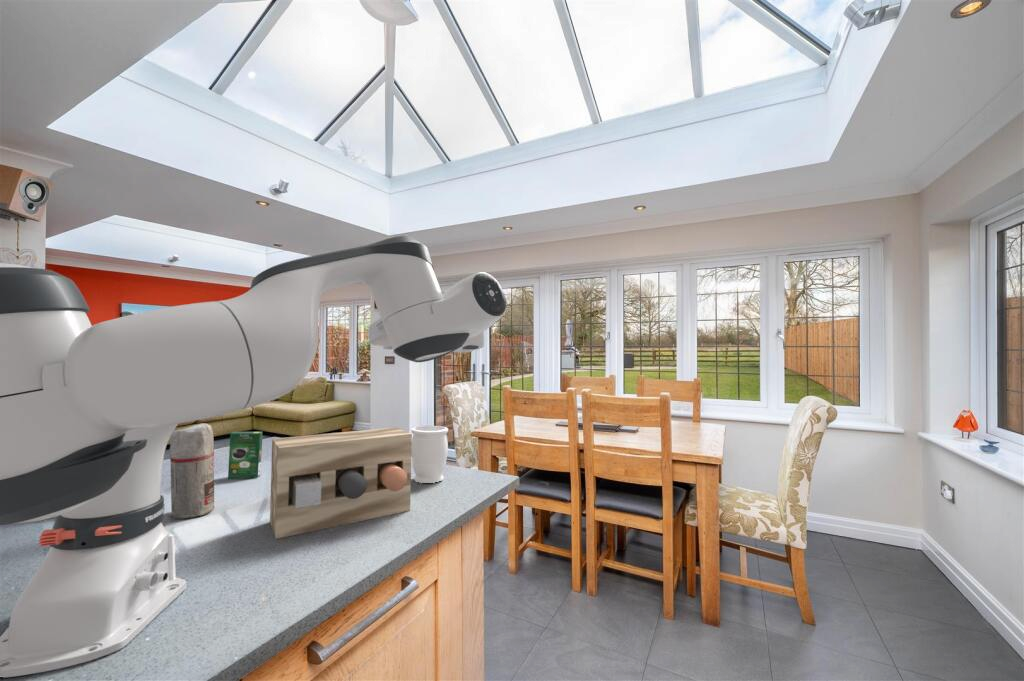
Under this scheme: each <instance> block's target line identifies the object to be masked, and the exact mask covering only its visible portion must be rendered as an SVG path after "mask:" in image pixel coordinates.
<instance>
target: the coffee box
mask: <svg viewBox="0 0 1024 681" xmlns="http://www.w3.org/2000/svg"><path fill="white" fill-rule="evenodd" d="M229 436H230V437H229V449H228V452H229V453H228V468H227V469H228V470H227V471H228V472H227V475H228V476H227V479H230V478H231V479H235V478H236V479H248V478H249V479H255V478H254V477H258V478H259V477H260V476H261V470H262V469H261V468H262V453H263V452H262V450H263V431H232V432H230V435H229Z"/></svg>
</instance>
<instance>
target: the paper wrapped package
mask: <svg viewBox="0 0 1024 681" xmlns="http://www.w3.org/2000/svg"><path fill="white" fill-rule="evenodd" d="M214 439H215V438H214V430H213V427H212V425H211V424H208V423H198V424H196V425H193V426H190V427H189V426H188V427H186V428H183V429H177V430H176V429H174V431H173V433H172V434H171V436H170V446H169V451H168V453H169V460H170V461H169V462H170V489H171V491H170V494H171V495H170V497H171V498H170V500H171V501H170V502H171V503H170V504H171V507H170V508H171V515H170V517H172V518H173V519H179V520H181V519H182V520H183V519H190V518H195V517H196V518H197V517H200V516H204V515H207V514H208V513H211V512H212V511H213V510H214V509H215V469H214V468H215V465H214V464H215V463H214V462H215V450H214V449H215V446H214V444H215V443H214Z"/></svg>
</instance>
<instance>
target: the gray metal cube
mask: <svg viewBox="0 0 1024 681" xmlns="http://www.w3.org/2000/svg"><path fill="white" fill-rule="evenodd" d="M291 501H292V503H293V505H294V507H295V508H301V507H306V506H312V505H317V504H321V480H320V479H319V478H318V476H317V475H311V476H304V477H297V478H292V495H291Z"/></svg>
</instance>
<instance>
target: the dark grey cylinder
mask: <svg viewBox="0 0 1024 681" xmlns="http://www.w3.org/2000/svg"><path fill="white" fill-rule="evenodd" d="M337 487H338V488H339V490H340V491H341V492H342V493H343V494H344V495H345V496H346V497H347V498H350V499H356V498H358V497H360V496H362V495H363V494H364V492H365V491H366V488H367V481H366V479H365V478H364V477H363V476H362V475H361V474H360V473H359V472H357V471H356V470H354V469H347V470H345V471H343V472H342V473H341V474H340V475H339V476H338V479H337Z"/></svg>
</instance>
